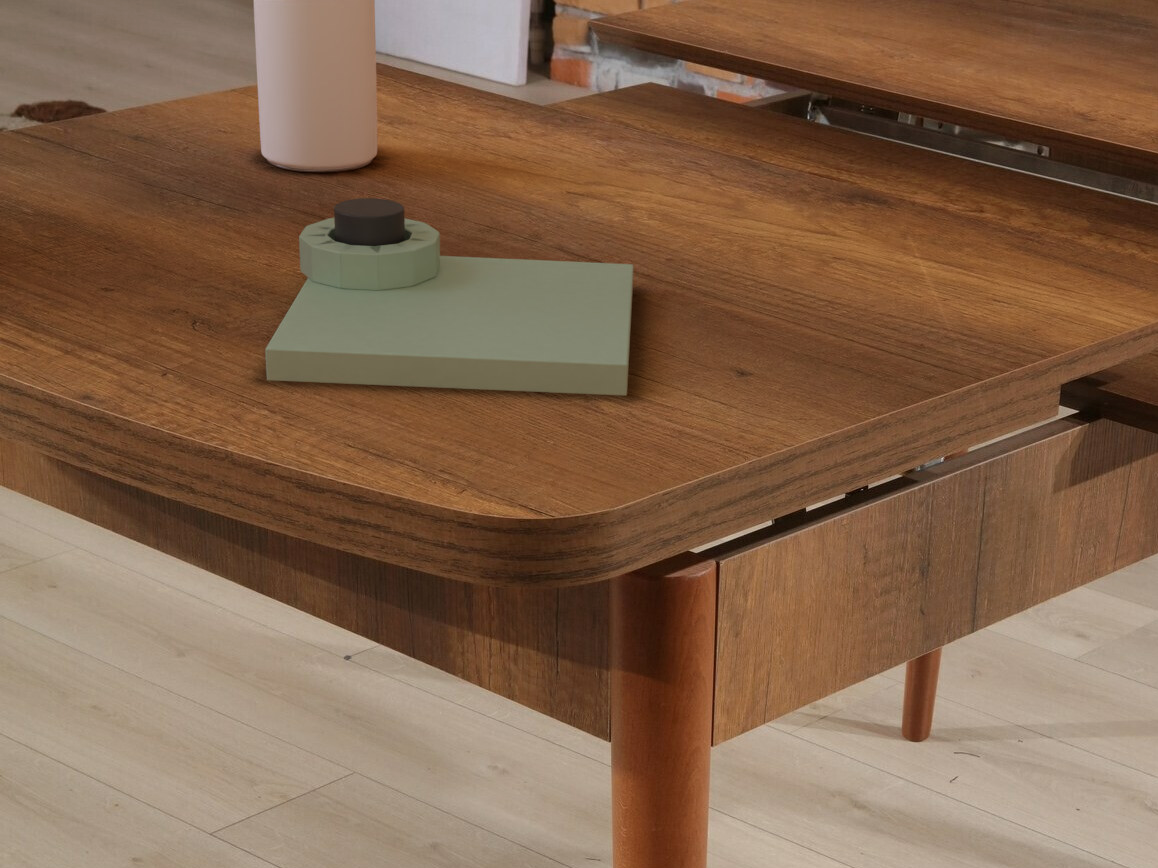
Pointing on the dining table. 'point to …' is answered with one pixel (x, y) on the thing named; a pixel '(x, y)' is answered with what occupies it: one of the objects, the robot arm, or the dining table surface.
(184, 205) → the dining table surface
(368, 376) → the scale
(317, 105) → the can
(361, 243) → the button
